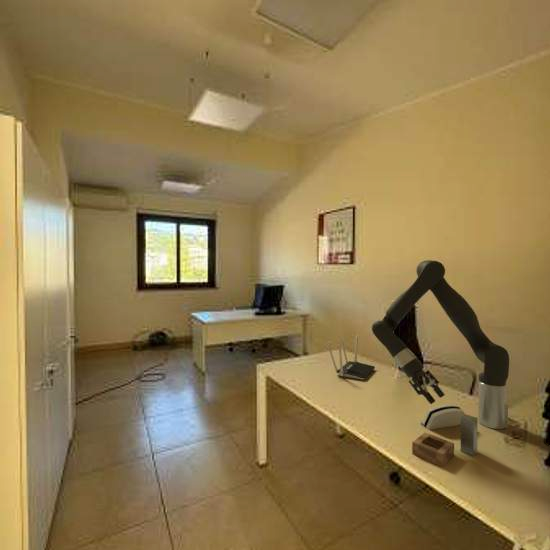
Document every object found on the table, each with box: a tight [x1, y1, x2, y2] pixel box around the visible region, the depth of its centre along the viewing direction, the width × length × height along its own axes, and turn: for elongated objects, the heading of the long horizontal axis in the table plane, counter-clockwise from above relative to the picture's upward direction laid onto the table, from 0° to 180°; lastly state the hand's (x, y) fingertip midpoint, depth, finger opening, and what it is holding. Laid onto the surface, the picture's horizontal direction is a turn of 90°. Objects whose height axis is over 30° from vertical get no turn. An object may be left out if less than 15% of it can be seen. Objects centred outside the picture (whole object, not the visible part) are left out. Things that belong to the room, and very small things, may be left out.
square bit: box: [460, 413, 478, 457], centre depth 112 cm, size 4×4×12 cm
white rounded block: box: [419, 403, 466, 430], centre depth 130 cm, size 17×5×10 cm, turn 104°
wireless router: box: [326, 334, 376, 381], centre depth 196 cm, size 34×23×20 cm
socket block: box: [411, 431, 455, 468], centre depth 110 cm, size 10×10×4 cm
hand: (438, 399), depth 119 cm, fingers open, 8 cm apart
